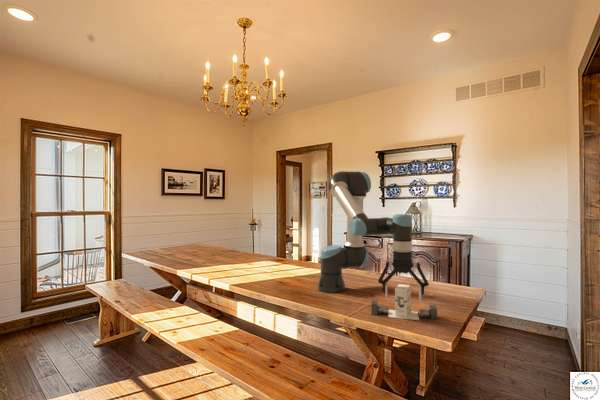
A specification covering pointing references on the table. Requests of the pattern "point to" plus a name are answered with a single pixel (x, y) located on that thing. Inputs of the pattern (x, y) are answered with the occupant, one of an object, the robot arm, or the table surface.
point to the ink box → (402, 300)
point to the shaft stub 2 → (429, 312)
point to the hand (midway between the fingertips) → (403, 300)
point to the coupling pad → (411, 316)
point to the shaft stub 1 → (378, 308)
